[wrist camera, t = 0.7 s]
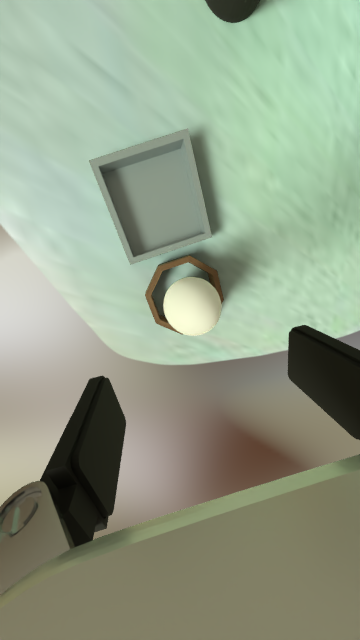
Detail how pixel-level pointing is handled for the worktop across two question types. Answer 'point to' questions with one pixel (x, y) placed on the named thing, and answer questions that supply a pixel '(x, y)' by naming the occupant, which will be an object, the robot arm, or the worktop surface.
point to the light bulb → (192, 306)
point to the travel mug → (232, 9)
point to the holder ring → (211, 272)
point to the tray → (154, 196)
